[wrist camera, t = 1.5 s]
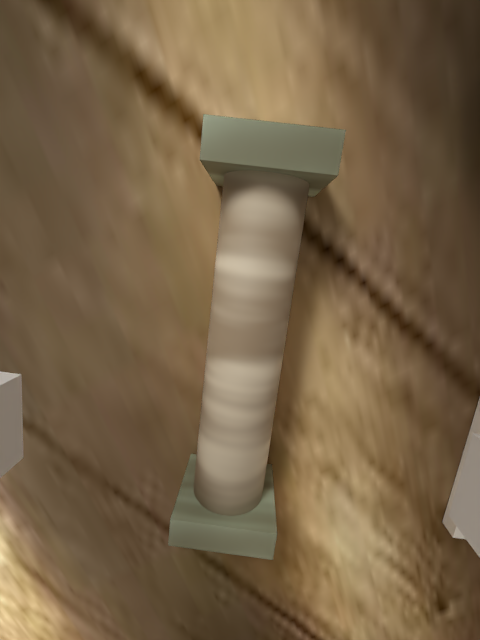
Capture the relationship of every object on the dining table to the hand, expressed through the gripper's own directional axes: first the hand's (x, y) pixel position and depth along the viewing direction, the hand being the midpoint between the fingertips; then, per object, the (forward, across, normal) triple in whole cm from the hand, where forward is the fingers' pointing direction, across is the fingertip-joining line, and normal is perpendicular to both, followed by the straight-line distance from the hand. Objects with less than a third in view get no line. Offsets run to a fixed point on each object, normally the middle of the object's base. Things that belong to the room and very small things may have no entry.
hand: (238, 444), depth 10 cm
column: (+10, 0, 0) cm, 11 cm away
